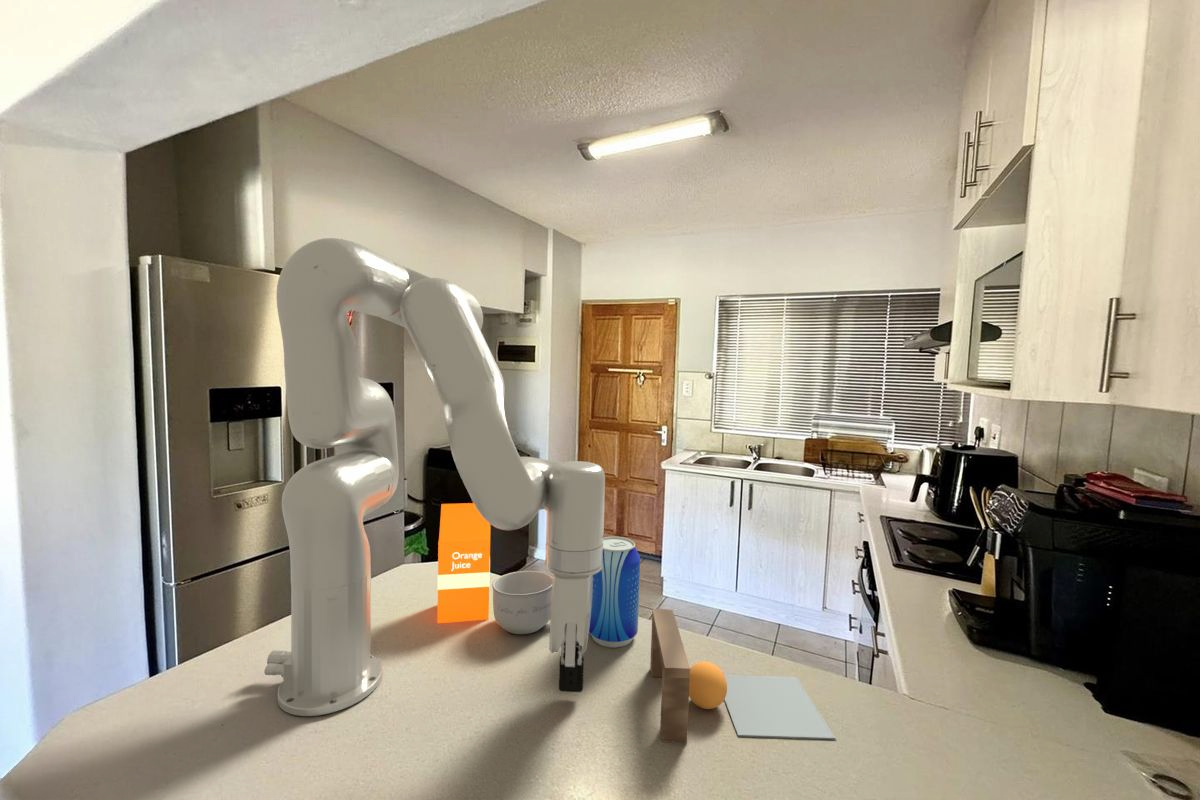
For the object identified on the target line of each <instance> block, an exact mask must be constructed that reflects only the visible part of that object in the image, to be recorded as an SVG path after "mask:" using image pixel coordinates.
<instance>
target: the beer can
mask: <svg viewBox="0 0 1200 800" xmlns="http://www.w3.org/2000/svg"><path fill="white" fill-rule="evenodd" d="M640 579H641V556H640V554H639V552H638V550H637V548H636V543H635V541H634V540H632V539H630V538H627V537H624V536H603V567H602V569H601V570H600V571H599V572H598V573H596V574H594V575H593V592H592V608H591V619H590V628H589V634H590V635H591V637H592V639H593V640H594V642H595V643H597V644H598V645H599V646H602V647H606V648H623V647H626V646H628V645H629V644H630V643H631V642H632V641H633V639H634V638H635V637H637V634H638V632H639V631H638V630H639V609H640V607H639V606H640Z"/></svg>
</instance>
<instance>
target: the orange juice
mask: <svg viewBox="0 0 1200 800" xmlns="http://www.w3.org/2000/svg"><path fill="white" fill-rule="evenodd" d="M439 520H440V521H439V534H438V535H439V536H438V543H437V545H438V548H437V550H438V551H437V552H438V553H437V557H438V559H437V624H448V623H458V622H459V623H461V622H470V621H471V622H472V621H484V620H485V621H486V620H489V619H490V615H489V614H490V582H491V581H490V578H491V576H490V575H491V524H490V523H488V522H487V521H486V520H485V519H484V518H483V517H482V515H481V514H480V513H479V511H478V510H477V508H476V507H475V505H474V503H473V502H472V503H471V502H467V503H465V502H464V503H441V507H440V519H439Z"/></svg>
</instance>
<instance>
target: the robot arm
mask: <svg viewBox="0 0 1200 800" xmlns="http://www.w3.org/2000/svg"><path fill="white" fill-rule="evenodd" d="M276 308H277V315H278V320H279V326H280V332H281V338H282V346H283V366H284V376H285V377H284V379H285V380H284V381H285V393H286V405H287V406H286V407H287V415H288V417H287V418H288V423H289V429H290V432H291V433H292V435H293V437H294V438H295V440H296V441H297V442H299V443H300V444H301V445H302V446H305V447H307V448H311V449H317V450H322V449H323V450H324V449H329V448H330V449H331V448H334V449H335V455H331V456H329V457H326V458H322V459H318V460H315V461H313V462H311V463H309V464H307V465H305V466H303V467H302V468H300V469H299V470H298V471H296V472H295V473H294V474H293V475H292V476H291V477H290V478H289V480H288V481H287V483H286V484H285V486H284V489H283V492H282V496H281V510H282V515H283V517H282V518H283V521H284V526H285V529H286V533H287V538H288V545H289V546H288V547H289V557H290V558H289V559H290V561H289V562H290V585H291V586H290V590H291V592H290V597H291V598H290V601H291V602H290V603H291V604H290V605H291V606H290V607H291V609H290V614H291V615H290V616H291V617H290V618H291V621H290V622H291V623H290V628H291V629H290V630H291V633H290V634H291V635H290V637H291V638H290V639H291V641H290V643H291V644H290V645H291V651H290V650H289V651H288V650H272V651H271V652H270V653H269V654H268V657H267V659H266V663H267V664H266V666H265V668H264V676H265V675H266V676H281V678H283V679H282V682H281V683H280V685H279V687H278V689H277V704H278V706H279V707H280V709H282V710H283V711H284V712H285V713H288V714H291V715H294V716H299V717H314V716H316V717H317V716H323V715H328V714H332V713H335V712H338V711H342V710H344V709H347V708H349V707H352V706H354V705H355V704H357V703H359V702H360V701H363V699H365V698H367V697H368V696H369V695H370V694H371V693H372V692H374V690H375V689H376V688H377V687H378V685H380V683H381V681H382V678H383V664H382V662H381V660H380V659H379V658H378V657H376V656H375V655H373V654H372V653H371V651H372V650H371V649H372V647H371V644H372V643H371V642H372V641H371V640H372V638H371V637H372V635H371V633H372V631H371V630H372V628H371V627H372V625H371V624H372V623H371V621H372V619H371V618H372V616H371V615H372V614H371V613H372V607H371V606H372V592H371V591H372V567H371V565H372V562H371V561H372V560H371V555H372V554H371V547H370V542H369V540H368V535H367V533H366V530H365V527H364V521H363V520H364V517H366V516H367V515H368V514H370V513H372V512H373V511H376V510H377V509H379V508H380V507H382V506H383V505H385V504H386V503H387V502H388V501H390V499H392V497H393V496H394V495H395V493H396V490H397V488H398V485H399V484H398V483H399V479H400V478H399V475H400V473H399V472H400V468H399V467H400V466H399V449H398V437H397V436H398V435H397V421H396V420H397V419H396V412H395V407H394V404H393V400H392V398H391V397H390V395H389V393H388V392H387V390H386V389H385V388H384V387H383V386H381V384H379V383H378V382H376V381H374V380H372V379H369V378H366V377H360V371H359V363H358V348H357V341H356V338H355V335H354V332H353V330H352V328H351V325H350V323H349V321H348V319H349V318H348V313H349V312H350V311H352V312H353V311H355V312H358V313H362V314H365V315H370V316H374V317H378V318H381V319H382V320H385V321H388V322H391V323H393V324H396V325H398V326H401V327H403V328H405V329H406V330H407V333H408V334H409V336H410V338H411V341H412V342H413V345H414V346H415V349H416V351H417V354H418V355H419V356H420V359H421V361H422V363H423V365H424V367H425V369H426V372H427V373H428V376H429V378H430V379H431V382H432V384H433V386H434V390H435V391H436V393H437V395H438V397H439V399H440V402H441V404H442V406H443V407H442V408H443V413H444V424H445V428H446V432H447V436H448V437H447V438H448V441H449V447H450V451H451V455H452V458H453V461H454V464H455V466H456V470H457V472H458V473H459V476H460V478H461V480H462V483H463V485H464V487H465V489H466V490H467V493H468V495H469V497H470V498H471V502H472V503H474V505H475V507H476V508H477V510H478V511H479V513H480V514H481V515H482V517H483V518H484V519H485V520H486V521H487V522H488V523H490V526H493V527H494V528H496V529H499V530H503V531H513V530H518V529H521V528H523V527H526V526H527V525H528V524H530V522H532V521H533V520H534V518H535V517H536V516H537V514H538V513H539V512H540V511H541V510H545V511H546V512H547V519H546V520H547V521H546V522H547V524H546V525H547V528H546V529H547V530H546V562H545V563H546V565H545V566H546V569H547V570H548V571H549V572H550V573H551V574H553V576H552V577H553V583H552V597H551V618H550V620H549V621H550V622H549V623H550V624H549V625H550V627H549V642H548V650H549V651H550V653H551V654H552V653H553V654H554V653H558V652H559V650H560V656H559V657H560V658H559V669H558V671H559V672H558V676H559V677H558V690H559V691H560V692H564V693H566V692H567V693H568V692H569V693H582V692H583V689H584V673H585V671H584V670H585V669H584V666H585V656H583V654H584V653H585V652H586V651H587V649H588V642H589V641H588V640H589V636H590V635H589V634H590V633H589V628H590V619H591V608H592V592H593V575H594V574H596V573H598V572H599V571H600V570H601V569H602V567H603V538H604V531H605V529H604V526H605V525H604V524H605V523H604V522H605V501H606V500H605V498H606V497H605V495H606V492H605V491H606V475H605V471H604V469H603V467H602V466H600V465H599V464H597V463H594V462H590V461H581V460H580V461H579V460H578V461H577V460H570V461H554V460H549V459H548V460H547V459H543V458H538V457H533V456H521V455H520V454H519V452H518V449H517V447H516V445H515V443H514V441H513V438H512V436H511V435H512V434H511V432H510V430H509V426H508V423H507V419H506V418H507V417H506V414H505V413H506V412H505V392H506V391H505V390H506V388H505V387H506V385H505V381H504V380H505V379H504V377H503V374H502V372H501V370H500V368H499V367H498V364H497V362H496V360H495V358H494V356H493V354H492V352H491V349H490V348H489V345H488V343H487V342H486V339H485V336H484V334H483V333H482V329H483V324H484V313H483V310H482V307H481V305H480V303H479V300H477V298H475V296H474V295H473V294H472V293H470V292H469V291H467V290H466V289H464V288H463V287H461V286H460V285H457V284H456V283H453V282H451V281H449V280H447V279H444V278H439V277H430V276H427V275H425V274H422V273H421V272H418V271H415V270H413V269H410V268H408V267H406V266H404V265H402V264H399V263H397V262H395V261H393V260H391V259H390V258H387V257H385V256H383V255H382V254H379V253H378V252H376V251H374V250H372V249H369V248H368V247H366V246H364V245H362V244H359V243H357V242H354V241H352V240H351V241H350V240H347V239H343V238H336V237H331V238H330V237H329V238H321V239H316V240H313V241H310V242H309V243H306V244H305V245H303V246H301V247H300V248H298V249H297V250H296V251H295V252H294V253H293V254H292V255H291V256H290V257H289V258H288V260H287V261H286V262H285V263H284V266H283V268H282V269H281V271H280V274H279V276H278V281H277V285H276Z"/></svg>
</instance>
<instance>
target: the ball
mask: <svg viewBox="0 0 1200 800" xmlns="http://www.w3.org/2000/svg"><path fill="white" fill-rule="evenodd" d="M724 675H725V674H724V672H723V670H721V668H720V667H718V666H717V665H716V664H714V663H712V662H709V661H698V662H696V663H695V664H693V665H691V667H690V682H689V700H691V701H692V703H693V704H695V705H696V706H697V707H699V708H701V709H705V710H712V709H715V708H718V707H719V706H720V705H722V704H723V702H725V700H724V699H725V697H726V694H727V681H726V678H725V676H724Z"/></svg>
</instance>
